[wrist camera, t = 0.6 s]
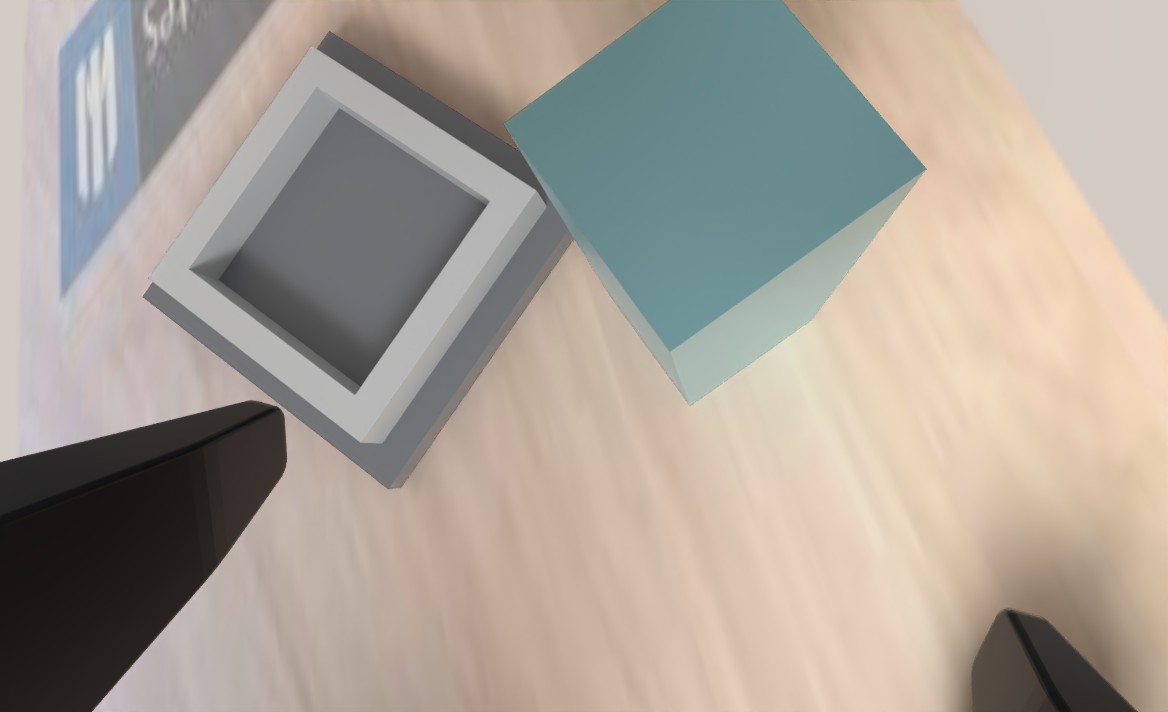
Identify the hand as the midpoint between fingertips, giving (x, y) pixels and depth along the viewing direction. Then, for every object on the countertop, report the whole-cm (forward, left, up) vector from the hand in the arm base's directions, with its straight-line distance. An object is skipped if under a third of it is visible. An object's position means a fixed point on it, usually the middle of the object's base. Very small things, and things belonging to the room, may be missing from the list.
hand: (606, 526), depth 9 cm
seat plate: (-4, +12, -14) cm, 19 cm away
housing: (+4, +4, -14) cm, 15 cm away
